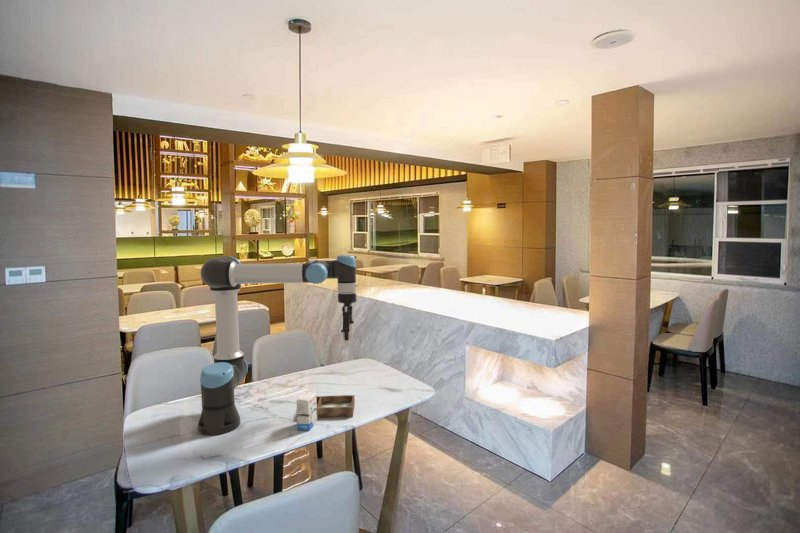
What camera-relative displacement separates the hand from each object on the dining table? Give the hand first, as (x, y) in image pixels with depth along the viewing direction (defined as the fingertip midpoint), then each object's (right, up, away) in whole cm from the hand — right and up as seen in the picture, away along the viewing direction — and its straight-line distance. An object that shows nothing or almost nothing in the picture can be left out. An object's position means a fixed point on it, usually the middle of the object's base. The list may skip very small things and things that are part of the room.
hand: (348, 343), depth 182 cm
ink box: (-14, -30, -13) cm, 35 cm away
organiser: (-8, -28, 0) cm, 29 cm away
